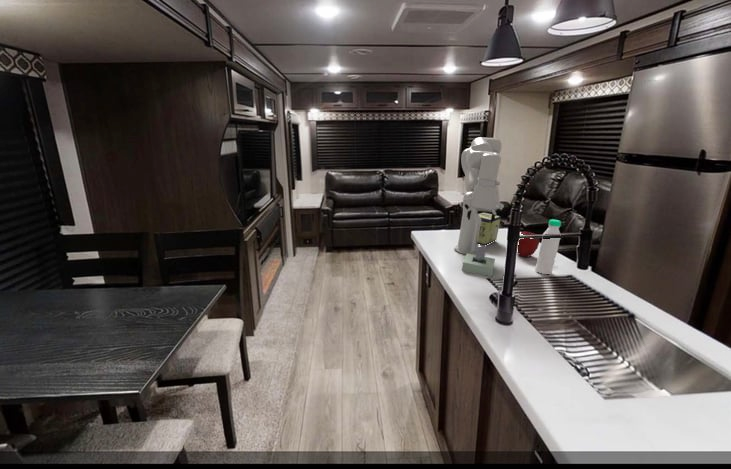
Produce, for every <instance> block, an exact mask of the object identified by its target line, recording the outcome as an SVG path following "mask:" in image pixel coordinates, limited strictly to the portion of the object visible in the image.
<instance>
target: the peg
mask: <svg viewBox="0 0 731 469" xmlns="http://www.w3.org/2000/svg"><path fill="white" fill-rule="evenodd" d="M486 253H487V246H485V245H477V250H476V256H475V262H478V263H484V258H485V257H486Z"/></svg>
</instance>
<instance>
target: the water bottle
mask: <svg viewBox="0 0 731 469" xmlns="http://www.w3.org/2000/svg"><path fill="white" fill-rule="evenodd" d="M561 226H562V221H561V220H558V219H554V218H552V219H549V221H548V227H547V229H546V230H545V231H544V232H543V233H542V236H543V235H545V234H560V235H561V232H560V227H561ZM560 240H561V238H550V239H543V238H542V239H541V241H540V242H541V243H540V246H539V250H538V256H537V260H536V264H535V268H534V270H535V272H536V271H537V272H536V273H538V272H539V273H538V274H540V273H542V274H541V275H544V274H550V275H551V274H552V273H553V270H554V265H555V262H556V257H557V254H558V250H559V246H560Z"/></svg>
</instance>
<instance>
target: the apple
mask: <svg viewBox="0 0 731 469" xmlns="http://www.w3.org/2000/svg"><path fill="white" fill-rule="evenodd" d="M520 232H521V234H523V235H537V234H536V233H534V232H530V231H525V230H524V231H520ZM539 245H540V238H539V239H530V238H524V239H520V240H519V245H518V253H517V254H518V255H519V256H521V257H524V256H525V257H526V258H527V257H528V256H529V257H530V256H533V255H534V254H535V252H536V251H537V250H538V247H539Z"/></svg>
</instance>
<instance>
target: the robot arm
mask: <svg viewBox="0 0 731 469" xmlns="http://www.w3.org/2000/svg"><path fill="white" fill-rule="evenodd" d="M501 151H502V142H501V140H500V139H499V138H496V137H481V136H480V137H479V136H478V137H476V138H474V139H473V140H472V141H471V144H470V147H468V148H465V149H464V150H463V151H462V153H461V156H460V157H461V168H462V171H463V173H464V175H465V176H464V177H465V178H464V180H465V181H464V182H465V192H466V193H465V194H464V195H463V197H462V216H461V223H460V230H459V235H458V236H459V237H458V243H457V245H455V246H454V251H455V252H457V253H459V254H462V255H466V254H473V255H476V250H477V243H478V237H479V231H480V225H481V218H480V216H479V214H480V213H478V212H484V213H491V214H492V217H491V222H490V223H492V221H494V220H495V215H497V214H498V213H500V212H502V210H503V208H504V207H505V204H503V203H501V202H500V193H499V192H500V190H499V186H500V183H501V181H499V180H498V176H499V170H500V166H501V163H502V161H501V160H502V157H501V155H500V153H501Z"/></svg>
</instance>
